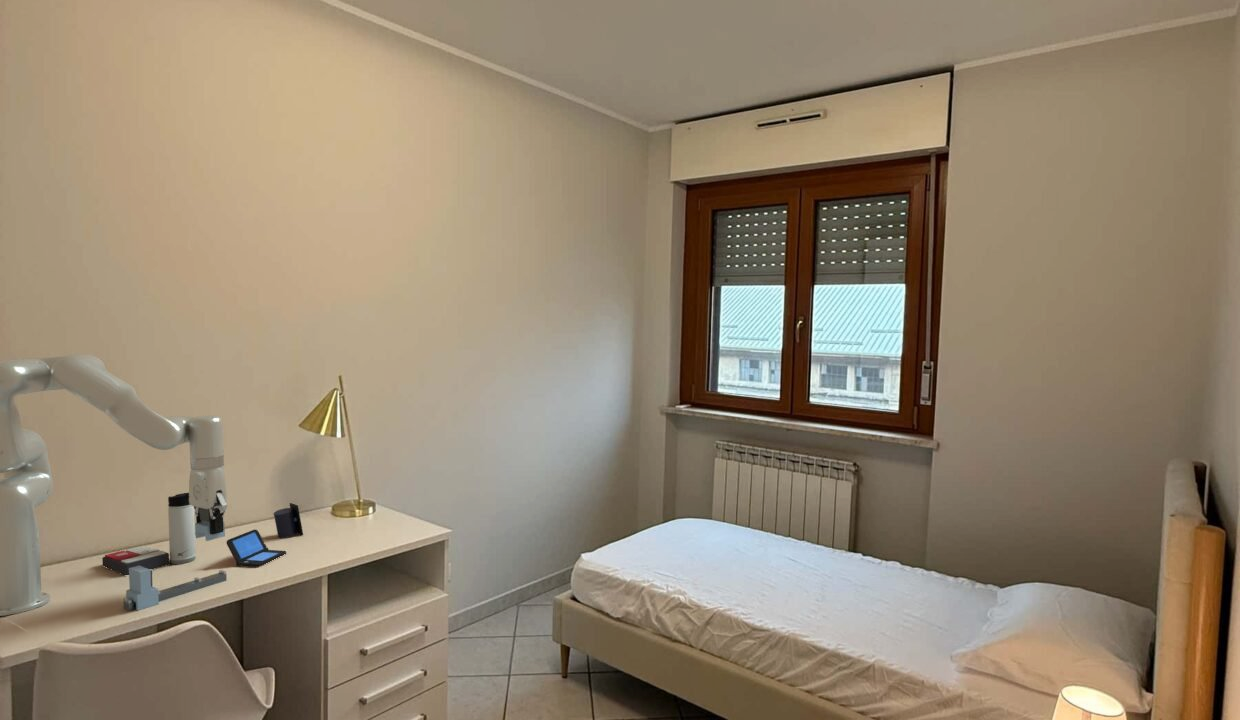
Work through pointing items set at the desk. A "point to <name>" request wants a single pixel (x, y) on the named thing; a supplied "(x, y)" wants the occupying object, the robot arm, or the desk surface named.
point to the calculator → (136, 559)
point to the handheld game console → (251, 550)
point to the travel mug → (181, 529)
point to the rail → (183, 588)
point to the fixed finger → (142, 588)
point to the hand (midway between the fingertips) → (210, 530)
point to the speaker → (288, 521)
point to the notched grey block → (206, 526)
